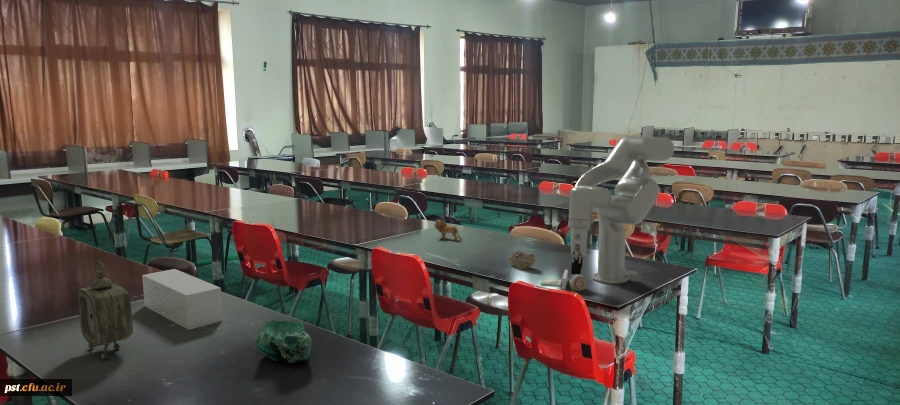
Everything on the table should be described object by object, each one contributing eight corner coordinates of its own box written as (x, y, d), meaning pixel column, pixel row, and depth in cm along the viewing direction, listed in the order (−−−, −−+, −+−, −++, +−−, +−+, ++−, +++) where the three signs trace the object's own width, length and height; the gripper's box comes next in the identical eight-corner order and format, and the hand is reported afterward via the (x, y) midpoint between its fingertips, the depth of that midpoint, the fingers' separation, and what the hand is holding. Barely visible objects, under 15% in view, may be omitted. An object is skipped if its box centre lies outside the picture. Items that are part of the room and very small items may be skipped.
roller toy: (567, 288, 230) (567, 272, 229) (584, 287, 231) (584, 271, 230) (571, 292, 226) (572, 276, 225) (588, 290, 227) (589, 275, 226)
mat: (561, 281, 239) (561, 279, 239) (560, 286, 232) (560, 284, 232) (542, 279, 241) (542, 278, 241) (540, 285, 234) (540, 283, 234)
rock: (535, 257, 251) (537, 248, 260) (505, 256, 253) (509, 246, 262) (535, 274, 253) (537, 264, 262) (506, 272, 255) (509, 262, 264)
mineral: (333, 359, 168) (332, 322, 166) (281, 378, 156) (279, 339, 155) (291, 342, 180) (290, 307, 178) (240, 358, 168) (238, 322, 167)
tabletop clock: (82, 348, 175) (73, 259, 171) (118, 339, 182) (110, 253, 178) (99, 363, 165) (90, 269, 161) (136, 354, 172) (128, 262, 168)
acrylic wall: (567, 280, 240) (568, 270, 239) (565, 289, 228) (565, 278, 228) (564, 280, 240) (564, 269, 240) (561, 289, 229) (562, 278, 228)
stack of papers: (144, 306, 211) (142, 275, 210) (176, 299, 219) (174, 268, 217) (188, 330, 190) (186, 295, 188) (222, 321, 197) (220, 287, 196)
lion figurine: (432, 238, 312) (432, 220, 311) (437, 236, 317) (437, 218, 315) (459, 241, 306) (459, 223, 304) (464, 239, 310) (464, 221, 309)
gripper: (589, 227, 215) (586, 277, 217) (591, 220, 232) (588, 266, 234) (566, 226, 217) (563, 275, 219) (570, 218, 234) (567, 265, 236)
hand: (576, 271), depth 227 cm, fingers open, 9 cm apart
